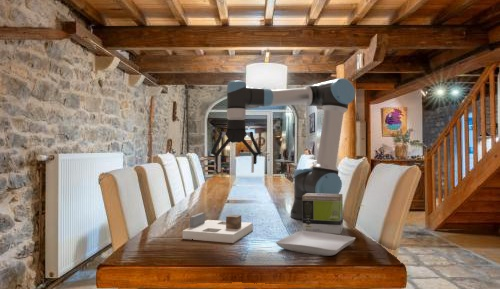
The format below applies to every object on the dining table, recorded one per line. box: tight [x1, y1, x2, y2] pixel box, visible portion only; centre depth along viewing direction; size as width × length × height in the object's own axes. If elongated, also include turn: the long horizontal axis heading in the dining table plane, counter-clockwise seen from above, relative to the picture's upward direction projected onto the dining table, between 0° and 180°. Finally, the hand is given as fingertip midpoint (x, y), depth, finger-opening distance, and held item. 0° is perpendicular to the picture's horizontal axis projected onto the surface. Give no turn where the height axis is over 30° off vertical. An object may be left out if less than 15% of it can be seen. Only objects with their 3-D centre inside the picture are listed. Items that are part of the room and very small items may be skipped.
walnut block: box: [225, 214, 242, 229], centre depth 156 cm, size 4×4×4 cm
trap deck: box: [182, 212, 254, 244], centre depth 158 cm, size 20×22×7 cm
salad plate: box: [275, 230, 356, 257], centre depth 138 cm, size 21×21×3 cm
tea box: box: [301, 193, 344, 235], centre depth 164 cm, size 15×10×15 cm
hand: (235, 172), depth 165 cm, fingers open, 13 cm apart
